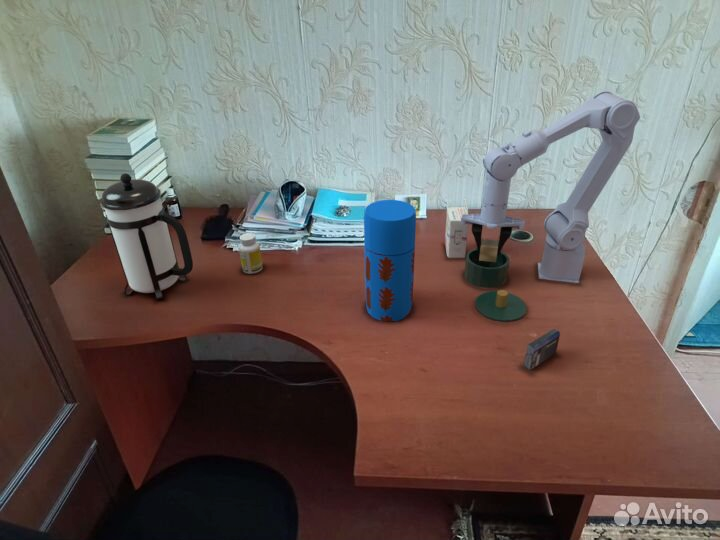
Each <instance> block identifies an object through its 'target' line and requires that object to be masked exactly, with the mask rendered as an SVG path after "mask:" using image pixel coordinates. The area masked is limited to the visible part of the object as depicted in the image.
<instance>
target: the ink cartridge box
mask: <svg viewBox="0 0 720 540" xmlns="http://www.w3.org/2000/svg"><path fill="white" fill-rule="evenodd" d="M462 214H469V206H468V203H467V200H466V197H463V206H448V207H446V222H445V233H444V234H445V235H444V247H445V252H446V256H447V258H449V259H453V258H455V259H456V258H459V259H461V258H462V259H466V254H467V242H468V231H469V224H465V225H461V216H462Z"/></svg>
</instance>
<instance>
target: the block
mask: <svg viewBox="0 0 720 540" xmlns="http://www.w3.org/2000/svg"><path fill="white" fill-rule="evenodd" d="M498 242H499V239H488V238H481V249H480V257H479V261H488V262H496V258H497V251H498Z"/></svg>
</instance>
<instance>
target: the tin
mask: <svg viewBox="0 0 720 540" xmlns="http://www.w3.org/2000/svg"><path fill="white" fill-rule="evenodd" d="M479 257H480V254H479V253H477V247H476V248H473V249H470V250H469V251H468V252H466V254H465V262H464V263H465V264H464V273H463V277H464V278H465V281H466V282H468V283H469V284H471V285H473V286H476V287H478V288H483V289H484V288H485V289H494V288H498V287H500V286H503V285H505V283H507V281H508V276H509V275H508V274H509V268H510V257H509V256H508V254H507V253H506V252H503V251H502V250H501V252H500V255H499V256H498V255H497V258H496V262H488V261H479Z"/></svg>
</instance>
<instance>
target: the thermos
mask: <svg viewBox="0 0 720 540" xmlns="http://www.w3.org/2000/svg"><path fill="white" fill-rule="evenodd" d="M416 227H417V211H416V208H415V206H414V205H412V204H411V203H409V202H408V201H407V202H406V201H403V200H399V199H381V200H377V201H374V202H371V203H369V204H368V205H366V207H365V209H364V214H363V237H364V240H363V241H364V246H363V247H364V288H365V292H364V293H365V303H366V304H365V305H366V311H367V313H368V315H369V316H370V317H371V318H373V319H375V320H378V321H382V322H398V321H402V320H403V319H405V317H406V316H407V315H408V314H410V312H411V311H412V306H413V298H414V277H415V254H416V253H415V252H416V232H417V231H416V230H417V229H416Z"/></svg>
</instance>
